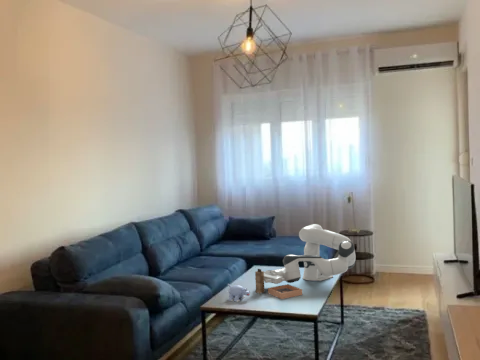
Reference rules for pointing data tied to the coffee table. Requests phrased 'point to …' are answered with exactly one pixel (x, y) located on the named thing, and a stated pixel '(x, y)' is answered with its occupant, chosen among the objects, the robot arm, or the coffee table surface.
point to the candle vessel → (285, 291)
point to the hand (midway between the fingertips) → (260, 280)
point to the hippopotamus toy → (237, 292)
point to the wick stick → (259, 281)
